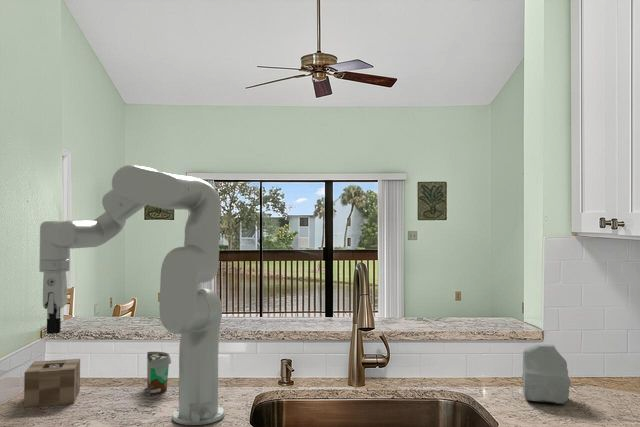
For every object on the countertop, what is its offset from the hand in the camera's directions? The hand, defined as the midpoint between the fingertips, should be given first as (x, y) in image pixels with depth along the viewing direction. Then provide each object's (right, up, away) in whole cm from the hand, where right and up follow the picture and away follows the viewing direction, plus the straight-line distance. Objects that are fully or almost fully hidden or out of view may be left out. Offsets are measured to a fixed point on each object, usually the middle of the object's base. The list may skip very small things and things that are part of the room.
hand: (53, 332), depth 154 cm
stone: (+135, -18, 0) cm, 136 cm away
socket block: (0, -18, 0) cm, 18 cm away
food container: (+27, -18, +8) cm, 33 cm away
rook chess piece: (0, -17, 0) cm, 17 cm away
